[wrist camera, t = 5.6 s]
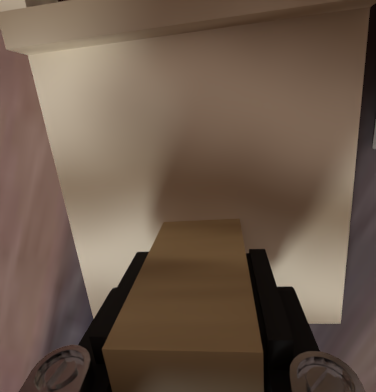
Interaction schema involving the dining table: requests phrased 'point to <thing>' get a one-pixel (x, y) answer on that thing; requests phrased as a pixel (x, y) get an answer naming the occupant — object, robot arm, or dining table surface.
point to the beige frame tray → (199, 166)
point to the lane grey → (375, 140)
